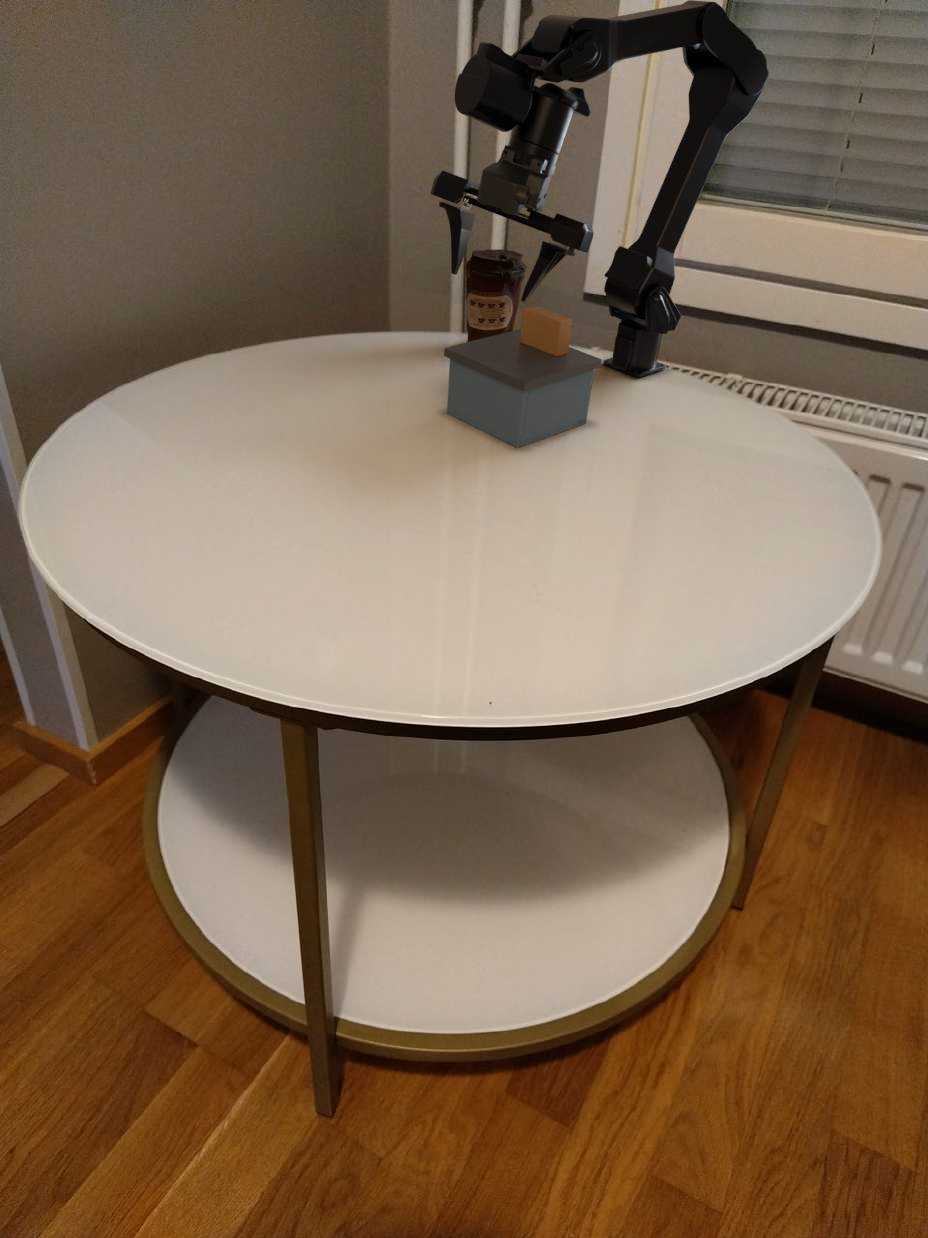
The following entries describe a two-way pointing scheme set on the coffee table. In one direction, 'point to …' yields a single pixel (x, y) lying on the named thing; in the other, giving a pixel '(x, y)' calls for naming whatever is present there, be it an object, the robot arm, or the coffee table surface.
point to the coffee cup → (493, 292)
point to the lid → (527, 352)
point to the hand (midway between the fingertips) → (488, 287)
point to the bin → (517, 405)
